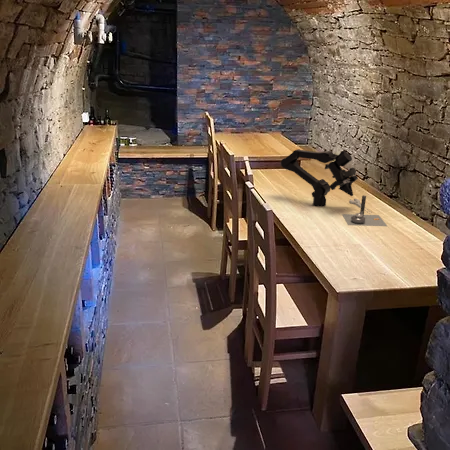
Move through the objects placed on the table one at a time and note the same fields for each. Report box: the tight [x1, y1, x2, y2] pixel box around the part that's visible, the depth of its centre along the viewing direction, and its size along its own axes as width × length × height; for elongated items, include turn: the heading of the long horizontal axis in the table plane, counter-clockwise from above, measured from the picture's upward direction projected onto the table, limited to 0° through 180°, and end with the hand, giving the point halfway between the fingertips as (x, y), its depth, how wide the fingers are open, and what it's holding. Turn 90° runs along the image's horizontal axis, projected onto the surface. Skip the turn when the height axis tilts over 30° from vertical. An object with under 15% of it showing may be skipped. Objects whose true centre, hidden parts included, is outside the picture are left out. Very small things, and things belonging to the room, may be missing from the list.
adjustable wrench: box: [349, 198, 372, 213], centre depth 279 cm, size 25×6×2 cm, turn 4°
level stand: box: [341, 213, 388, 227], centre depth 257 cm, size 20×17×1 cm
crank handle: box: [351, 194, 367, 224], centre depth 254 cm, size 8×13×11 cm, turn 178°
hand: (352, 195), depth 263 cm, fingers closed
